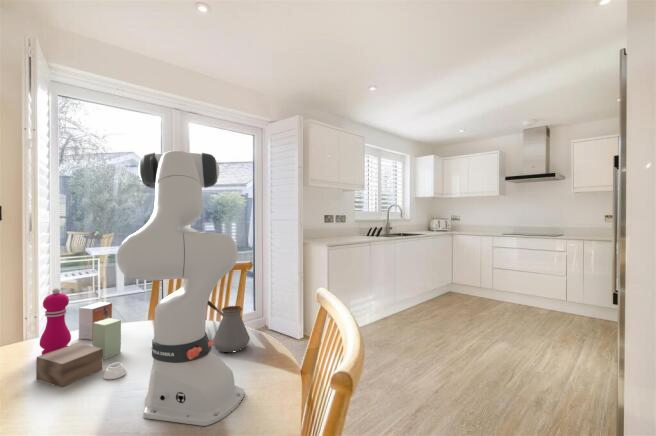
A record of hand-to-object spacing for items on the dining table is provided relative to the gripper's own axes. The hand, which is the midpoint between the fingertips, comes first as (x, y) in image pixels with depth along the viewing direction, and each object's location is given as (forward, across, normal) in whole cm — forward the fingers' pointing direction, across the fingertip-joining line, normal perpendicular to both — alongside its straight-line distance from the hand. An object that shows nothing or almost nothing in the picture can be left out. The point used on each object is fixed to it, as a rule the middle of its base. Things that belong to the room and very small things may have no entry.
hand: (137, 274), depth 109 cm
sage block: (+12, +1, +22) cm, 25 cm away
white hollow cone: (+21, +15, +21) cm, 33 cm away
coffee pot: (-5, +29, +22) cm, 36 cm away
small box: (+2, -16, +23) cm, 28 cm away
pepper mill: (+18, -12, +22) cm, 31 cm away
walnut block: (+24, +3, +21) cm, 32 cm away
